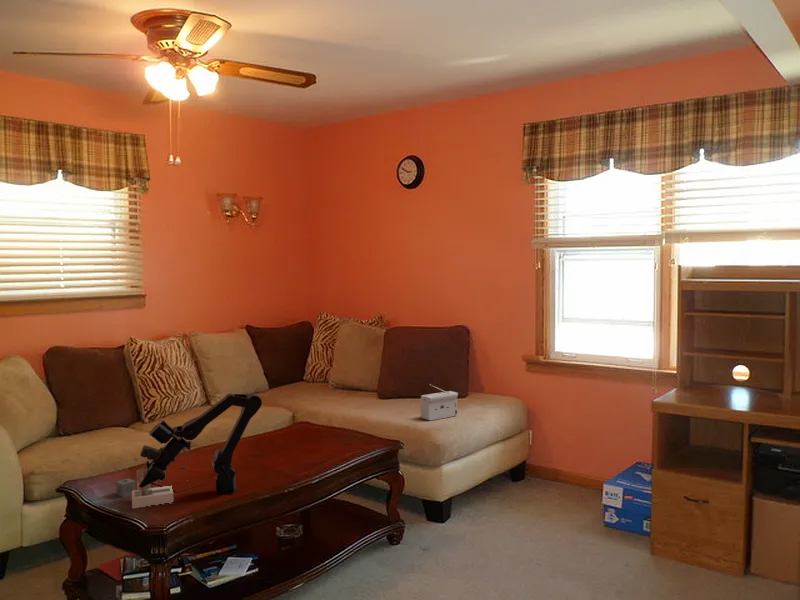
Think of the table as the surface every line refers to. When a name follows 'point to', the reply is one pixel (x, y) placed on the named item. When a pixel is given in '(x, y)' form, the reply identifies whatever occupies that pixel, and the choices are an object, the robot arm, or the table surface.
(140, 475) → the maple peg
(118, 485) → the dice cube
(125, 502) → the table surface
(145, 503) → the keyhole block
